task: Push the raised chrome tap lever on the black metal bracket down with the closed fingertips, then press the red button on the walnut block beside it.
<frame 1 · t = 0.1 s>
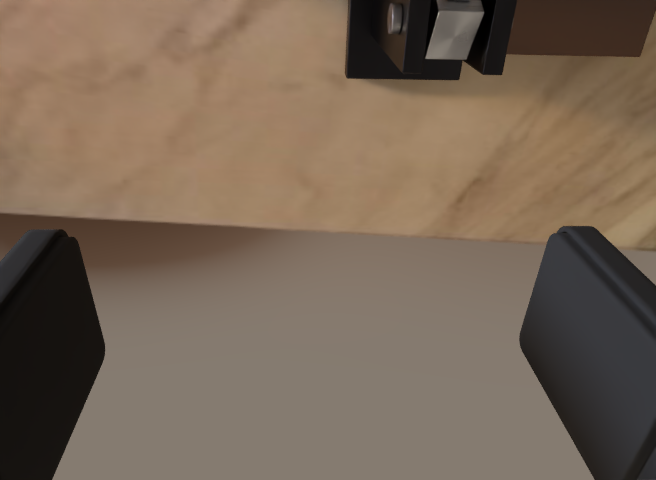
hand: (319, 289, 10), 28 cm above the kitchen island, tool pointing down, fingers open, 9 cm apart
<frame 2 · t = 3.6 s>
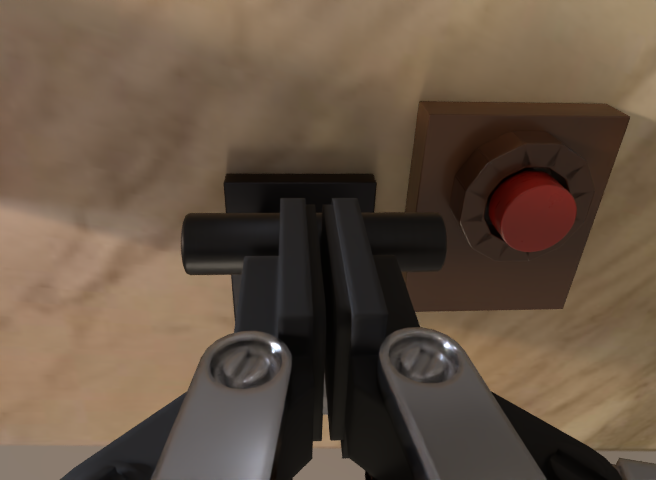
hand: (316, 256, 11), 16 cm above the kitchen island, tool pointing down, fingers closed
button block: (490, 205, 29), on the kitchen island
button: (531, 211, 24), point 4 cm above the kitchen island, slide at 0.1 cm
tap lever: (308, 333, 17), point 12 cm above the kitchen island, hinge at 26.8°, touching gripper
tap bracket: (300, 251, 30), on the kitchen island
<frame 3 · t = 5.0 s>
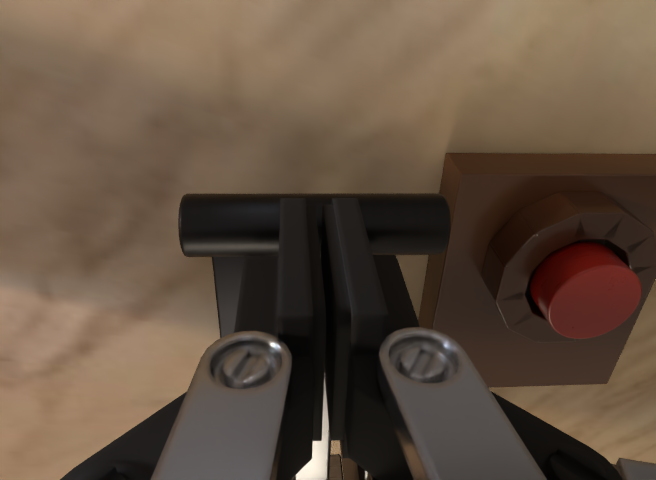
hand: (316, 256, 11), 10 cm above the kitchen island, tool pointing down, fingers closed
button block: (526, 267, 25), on the kitchen island
button: (583, 290, 20), point 4 cm above the kitchen island, slide at 0.1 cm
tap lever: (312, 404, 15), point 10 cm above the kitchen island, hinge at -2.5°, touching gripper
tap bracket: (302, 318, 26), on the kitchen island
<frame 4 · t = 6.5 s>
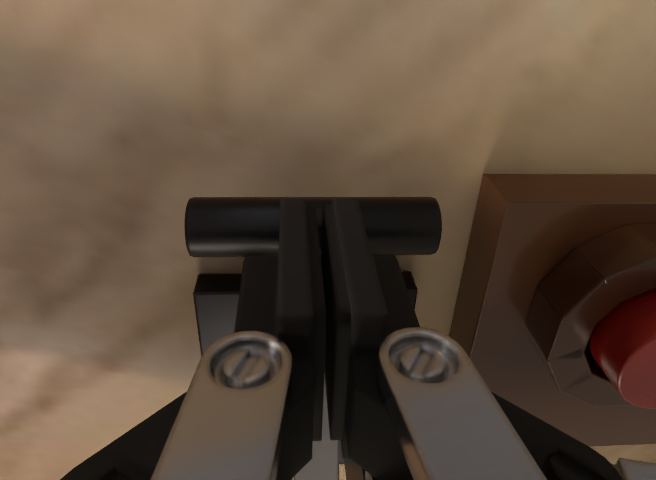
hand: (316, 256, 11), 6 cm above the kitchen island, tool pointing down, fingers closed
button block: (573, 308, 21), on the kitchen island
tap lever: (315, 458, 13), point 8 cm above the kitchen island, hinge at -28.5°, touching gripper
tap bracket: (305, 368, 21), on the kitchen island
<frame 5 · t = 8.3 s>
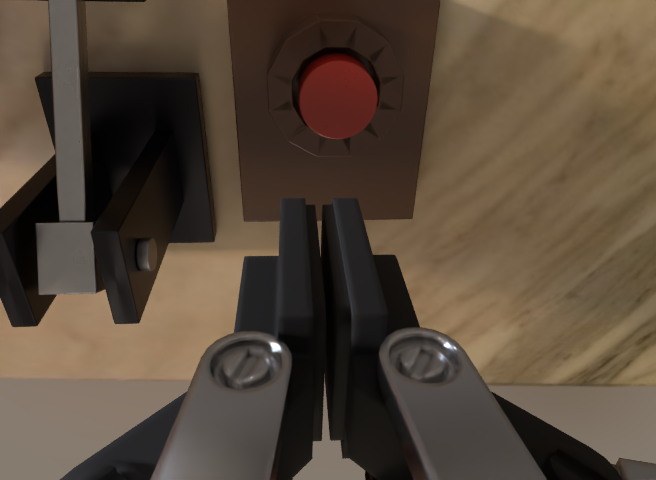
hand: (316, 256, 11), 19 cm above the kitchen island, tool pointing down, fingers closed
button block: (328, 109, 28), on the kitchen island
button: (336, 96, 24), point 4 cm above the kitchen island, slide at 0.1 cm
tap lever: (72, 129, 20), point 8 cm above the kitchen island, hinge at -28.5°
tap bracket: (138, 160, 29), on the kitchen island
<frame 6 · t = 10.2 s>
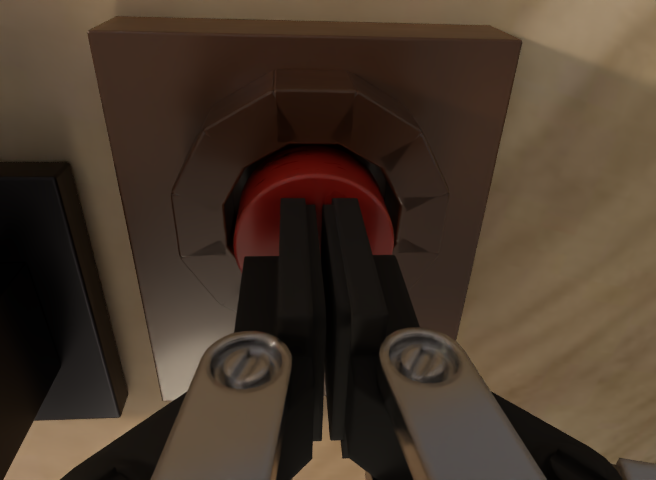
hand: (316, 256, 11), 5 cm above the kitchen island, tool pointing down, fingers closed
button block: (306, 218, 16), on the kitchen island
button: (313, 229, 12), point 4 cm above the kitchen island, slide at -0.3 cm, touching gripper
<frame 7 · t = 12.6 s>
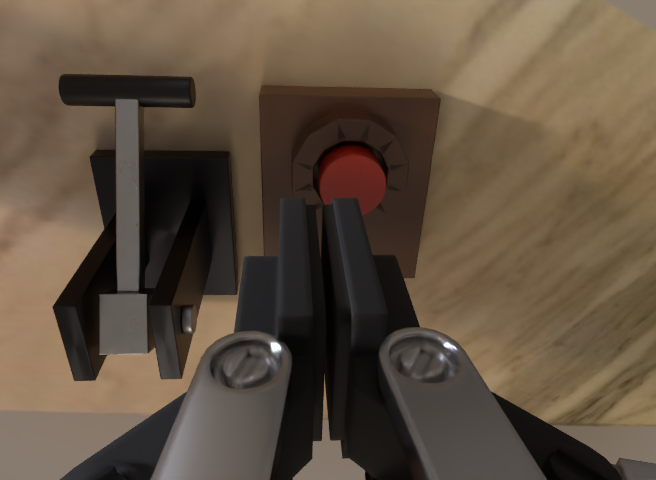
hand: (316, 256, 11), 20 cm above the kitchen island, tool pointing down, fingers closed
button block: (342, 182, 32), on the kitchen island
button: (351, 180, 27), point 4 cm above the kitchen island, slide at 0.1 cm
tap lever: (130, 213, 24), point 8 cm above the kitchen island, hinge at -28.5°
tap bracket: (173, 223, 33), on the kitchen island
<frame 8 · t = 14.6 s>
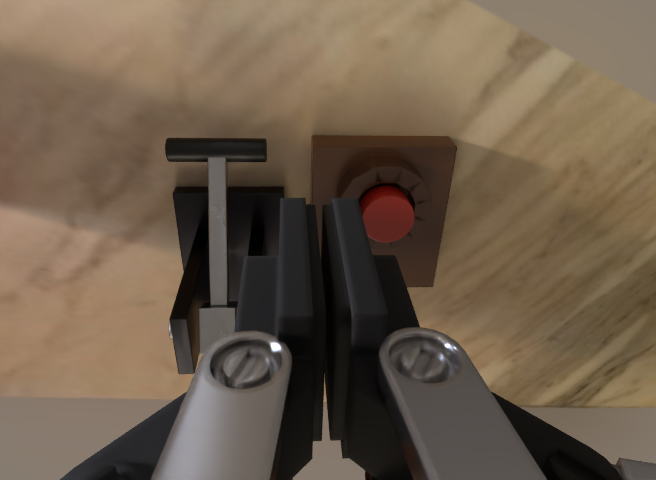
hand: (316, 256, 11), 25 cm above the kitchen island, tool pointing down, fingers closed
button block: (374, 209, 39), on the kitchen island
button: (386, 214, 34), point 4 cm above the kitchen island, slide at 0.1 cm
tap lever: (218, 244, 31), point 8 cm above the kitchen island, hinge at -28.5°
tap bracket: (234, 243, 40), on the kitchen island
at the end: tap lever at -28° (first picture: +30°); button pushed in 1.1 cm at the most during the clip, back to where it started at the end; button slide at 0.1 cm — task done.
